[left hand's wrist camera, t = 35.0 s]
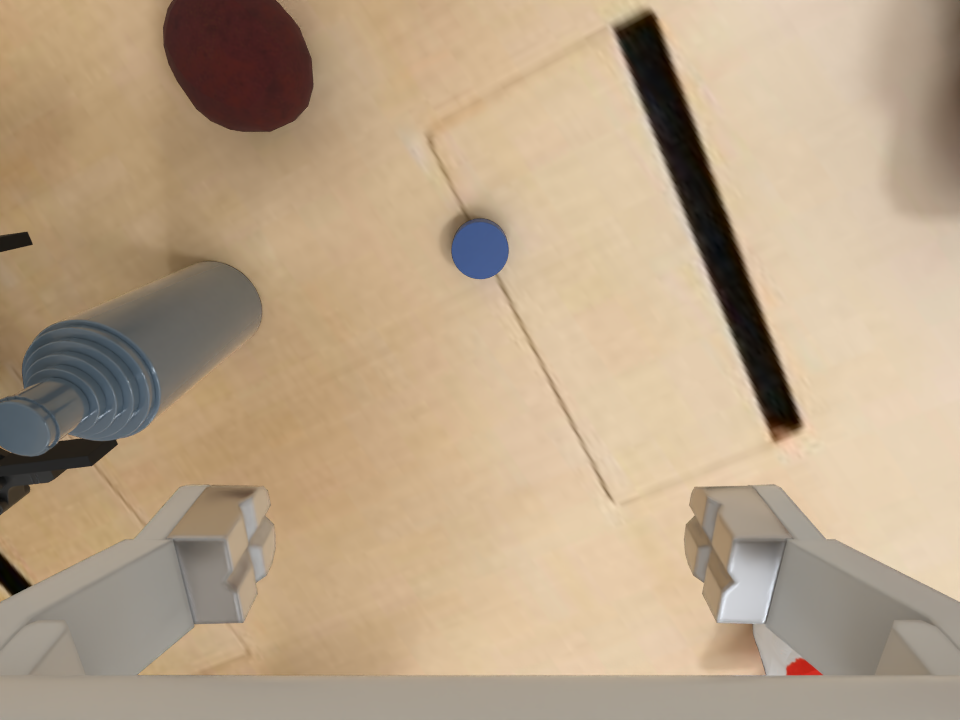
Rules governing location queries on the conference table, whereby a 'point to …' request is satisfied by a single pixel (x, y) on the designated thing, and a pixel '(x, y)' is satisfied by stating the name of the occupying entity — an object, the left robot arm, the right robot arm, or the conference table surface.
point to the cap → (480, 248)
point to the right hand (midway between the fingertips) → (61, 353)
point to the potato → (239, 61)
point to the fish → (779, 655)
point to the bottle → (128, 358)
